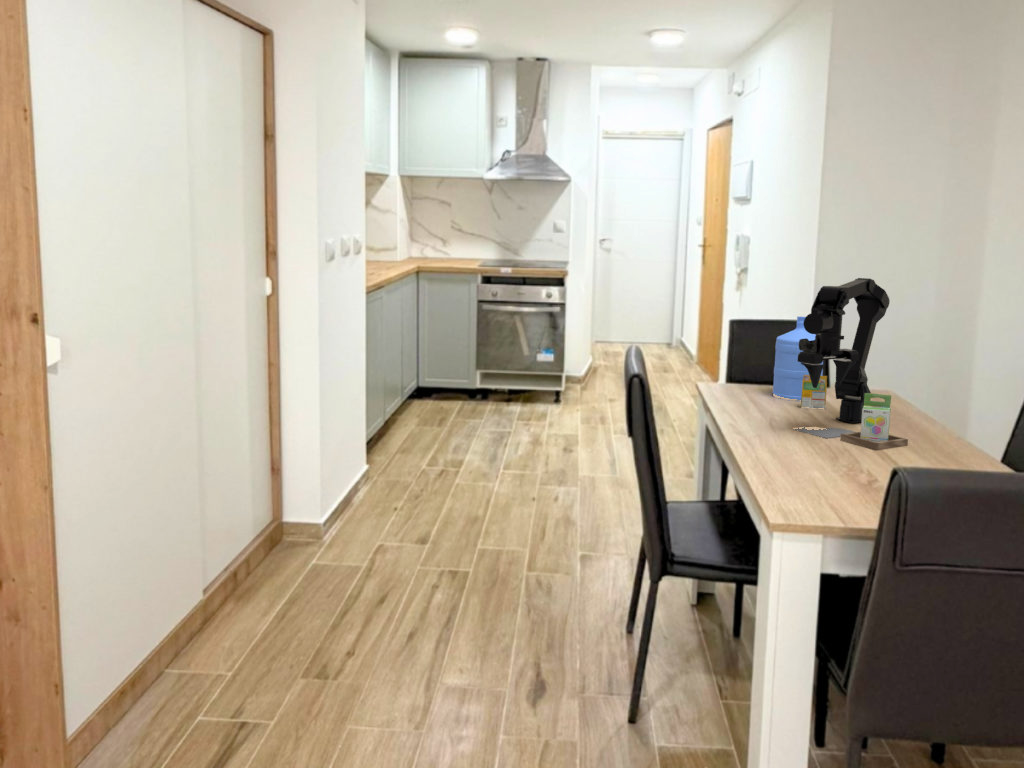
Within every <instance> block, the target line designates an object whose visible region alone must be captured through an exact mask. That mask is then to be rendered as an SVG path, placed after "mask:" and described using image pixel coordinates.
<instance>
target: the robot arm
mask: <svg viewBox="0 0 1024 768" xmlns="http://www.w3.org/2000/svg"><path fill="white" fill-rule="evenodd" d="M852 299H854V301H855V303H856V311H857V313H858V317H859V320H858V325H857V328H856V332H855V336H854V339H853V342H852V346H851V349H850V348H841V340H845V335H842V328H843V327H842V326H843V325H842V324H843V316H845V315H846V311H845V309H844V308H845V307H846V306H847V305H849V303H850V300H852ZM889 306H890V296H889V295H888V293H887V292H886V290H885V289H884V288H882V287H881V286H879V285H878V284H877V283H876V281H875V279H872V278H866V277H858V278H855V279H854V280H851V281H849V282H846V283H843V284H840V285H823V286H822V287H820V289H819V290H818V292H817V294H816V297H815V298H814V301H813V304H812V306H811V309H810V313H808V314H807V315H806V316H805V317H806V318H805V320H804V328H805V330H806V331H807V332H808V333H810V334H815V335H816V336H815V340H812V341H809V340H808V339H807V338H806V339H800V340H799V350H801V351H803V352H800V353H799V354H798V362H801V364H802V365H804V366H805V367H806V368H807V370H808V372H809V375H810V379H811V382H812V386H813V388H817V386H818V383H819V379H820V376H821V372H822V368H824V364H823V365H822V364H821V363H822V362H823V363H824V361H825V360H826V361H827V360H828V361H829V360H832V361H833V364H834V365H835V382H834V393H835V399H836V400H841V401H840V402H841V403H840V405H839V416H838V417H835V419H836V420H838V421H841V422H846V423H850V424H855V423H861V422H862V409H863V406H864V398H865V393H871V390H870V388H869V386H868V381H869V379H868V375H867V372H866V370H865V369H866V364H867V360H868V356H869V353H870V349H871V346H872V341H873V338H874V334H875V330H876V326H877V323H879V321H881V319H883V318H884V317H885V315H886V313H887V309H888V308H889ZM871 394H872V393H871Z"/></svg>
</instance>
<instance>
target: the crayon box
mask: <svg viewBox="0 0 1024 768" xmlns="http://www.w3.org/2000/svg"><path fill="white" fill-rule="evenodd" d="M827 389H828V375H823V376H820V380H819V383H818V386H817V388H813V386H812V382H811V379H810V375H804V376H803V380H802V397H801V401H800V408H801V407H809V408H824V409H825V410H826V401H827Z"/></svg>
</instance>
